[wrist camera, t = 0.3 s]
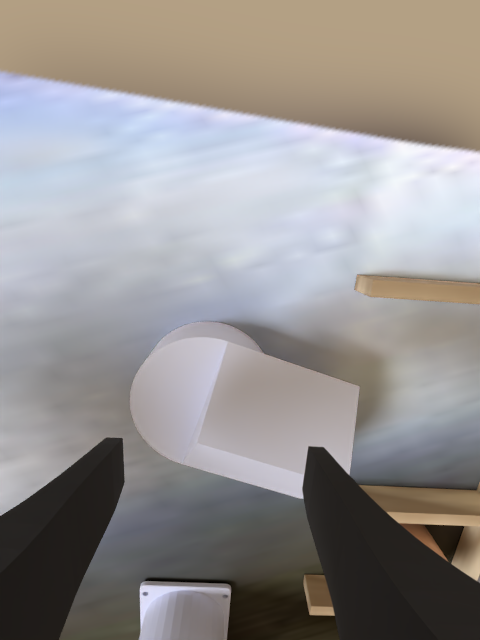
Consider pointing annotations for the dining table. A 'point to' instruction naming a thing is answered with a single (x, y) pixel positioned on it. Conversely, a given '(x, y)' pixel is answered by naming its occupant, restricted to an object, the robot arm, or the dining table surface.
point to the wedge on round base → (239, 408)
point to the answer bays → (406, 502)
